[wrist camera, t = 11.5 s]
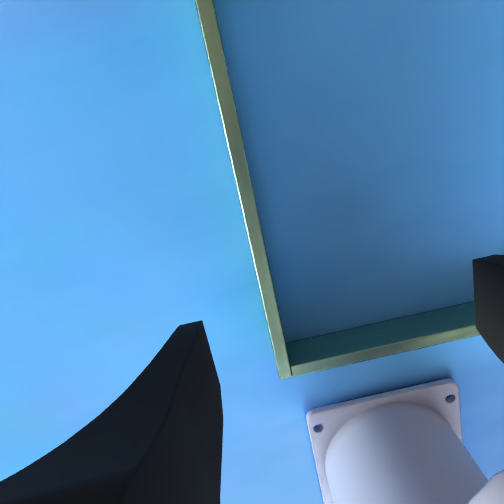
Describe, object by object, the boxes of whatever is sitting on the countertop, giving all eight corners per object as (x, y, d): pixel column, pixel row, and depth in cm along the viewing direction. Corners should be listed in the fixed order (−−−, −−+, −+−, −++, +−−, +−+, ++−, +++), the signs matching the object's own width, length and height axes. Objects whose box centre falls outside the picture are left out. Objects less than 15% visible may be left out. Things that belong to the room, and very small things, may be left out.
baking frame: (662, 269, 23) (701, 285, 21) (274, 356, 23) (280, 380, 21) (707, -149, 17) (767, -177, 16) (187, -34, 17) (184, -48, 15)
